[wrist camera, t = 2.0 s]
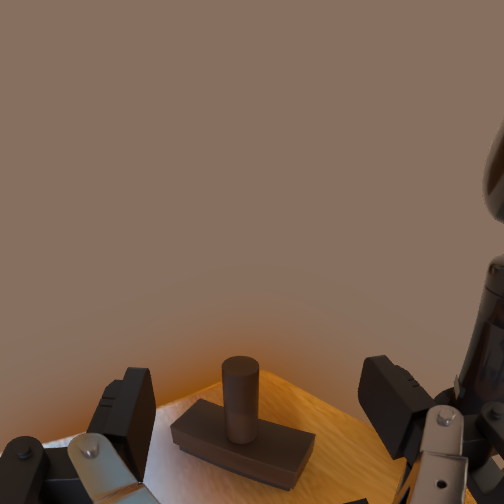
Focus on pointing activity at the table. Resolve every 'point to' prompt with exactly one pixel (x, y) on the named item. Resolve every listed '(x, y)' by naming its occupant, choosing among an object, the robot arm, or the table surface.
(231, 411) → the stamp
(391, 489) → the table surface
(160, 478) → the table surface
